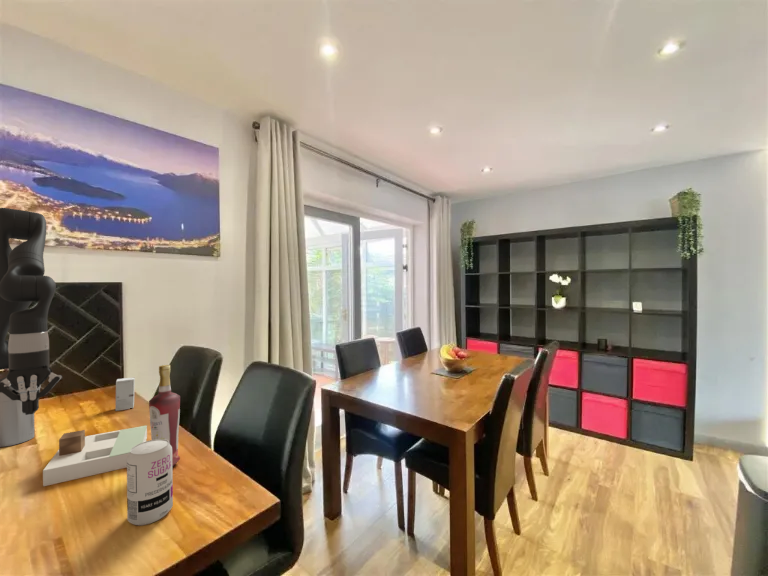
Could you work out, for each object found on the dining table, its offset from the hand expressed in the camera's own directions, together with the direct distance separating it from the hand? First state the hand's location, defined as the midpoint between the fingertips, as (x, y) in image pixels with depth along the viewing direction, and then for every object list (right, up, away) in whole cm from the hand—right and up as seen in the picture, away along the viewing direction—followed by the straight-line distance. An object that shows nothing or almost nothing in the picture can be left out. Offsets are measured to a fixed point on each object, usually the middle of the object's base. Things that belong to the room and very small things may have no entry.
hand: (30, 413), depth 90 cm
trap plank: (+13, -16, +8) cm, 22 cm away
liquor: (+34, -16, +3) cm, 38 cm away
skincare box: (-12, -16, +49) cm, 53 cm away
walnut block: (+7, -12, +4) cm, 15 cm away
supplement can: (+44, -16, -17) cm, 50 cm away
